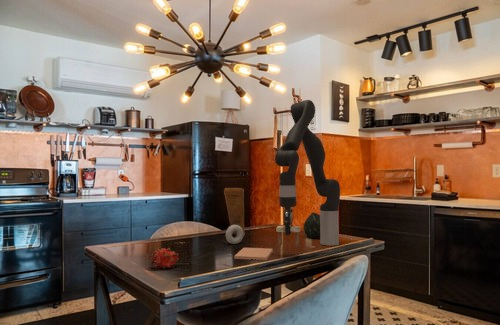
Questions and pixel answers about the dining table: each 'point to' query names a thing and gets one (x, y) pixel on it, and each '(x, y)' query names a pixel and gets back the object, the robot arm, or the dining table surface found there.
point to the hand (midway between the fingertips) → (288, 233)
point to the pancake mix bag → (235, 206)
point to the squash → (312, 226)
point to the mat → (254, 253)
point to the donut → (231, 230)
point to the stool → (292, 229)
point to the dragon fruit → (164, 258)
